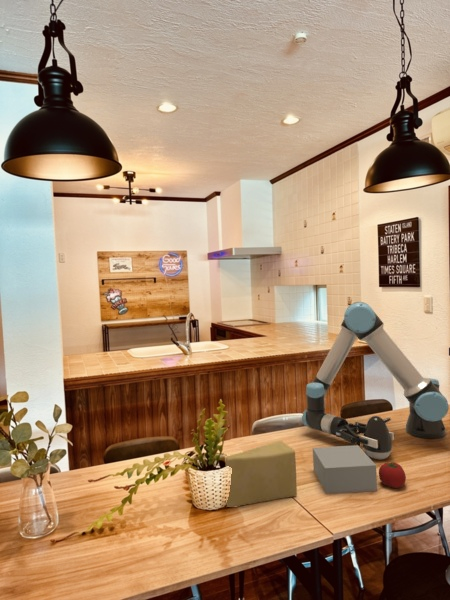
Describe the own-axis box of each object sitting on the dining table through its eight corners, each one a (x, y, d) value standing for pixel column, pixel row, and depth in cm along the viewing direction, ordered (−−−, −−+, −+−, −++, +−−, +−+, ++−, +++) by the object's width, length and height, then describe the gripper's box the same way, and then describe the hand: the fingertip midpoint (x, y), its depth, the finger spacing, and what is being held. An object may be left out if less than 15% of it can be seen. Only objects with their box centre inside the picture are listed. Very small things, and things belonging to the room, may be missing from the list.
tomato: (406, 493, 120) (405, 469, 120) (378, 488, 123) (377, 465, 123) (406, 481, 127) (405, 458, 127) (379, 477, 130) (378, 455, 130)
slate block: (358, 467, 138) (357, 445, 138) (377, 490, 122) (376, 465, 122) (313, 470, 138) (312, 447, 138) (326, 493, 122) (324, 468, 122)
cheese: (233, 516, 112) (230, 464, 112) (220, 500, 121) (217, 452, 121) (298, 497, 121) (296, 448, 120) (282, 483, 130) (280, 438, 129)
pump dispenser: (397, 462, 141) (396, 420, 141) (368, 463, 141) (366, 421, 141) (386, 450, 151) (385, 411, 151) (359, 451, 151) (357, 412, 151)
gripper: (352, 428, 168) (402, 442, 150) (317, 442, 154) (367, 459, 137) (351, 410, 168) (401, 422, 150) (316, 423, 154) (366, 438, 136)
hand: (385, 440), depth 143 cm, fingers closed on pump dispenser, 10 cm apart
